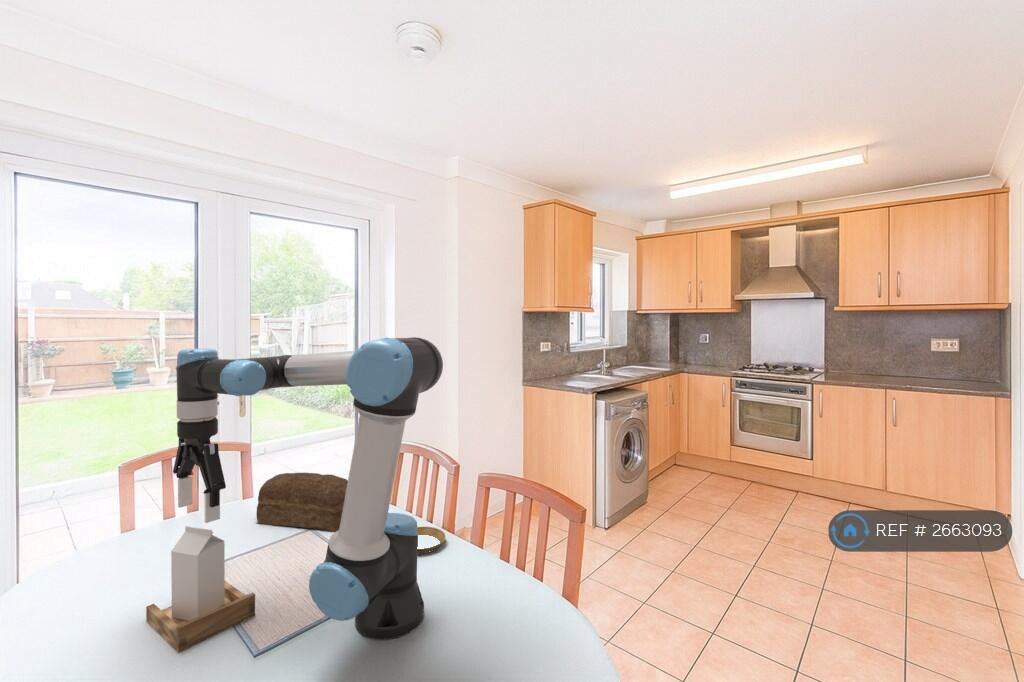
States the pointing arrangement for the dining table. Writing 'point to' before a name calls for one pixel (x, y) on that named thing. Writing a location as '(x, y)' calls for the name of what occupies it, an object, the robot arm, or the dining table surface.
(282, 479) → the bread
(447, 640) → the dining table surface
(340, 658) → the dining table surface
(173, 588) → the milk carton
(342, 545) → the robot arm
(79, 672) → the dining table surface
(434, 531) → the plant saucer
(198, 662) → the dining table surface
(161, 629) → the wooden tray
